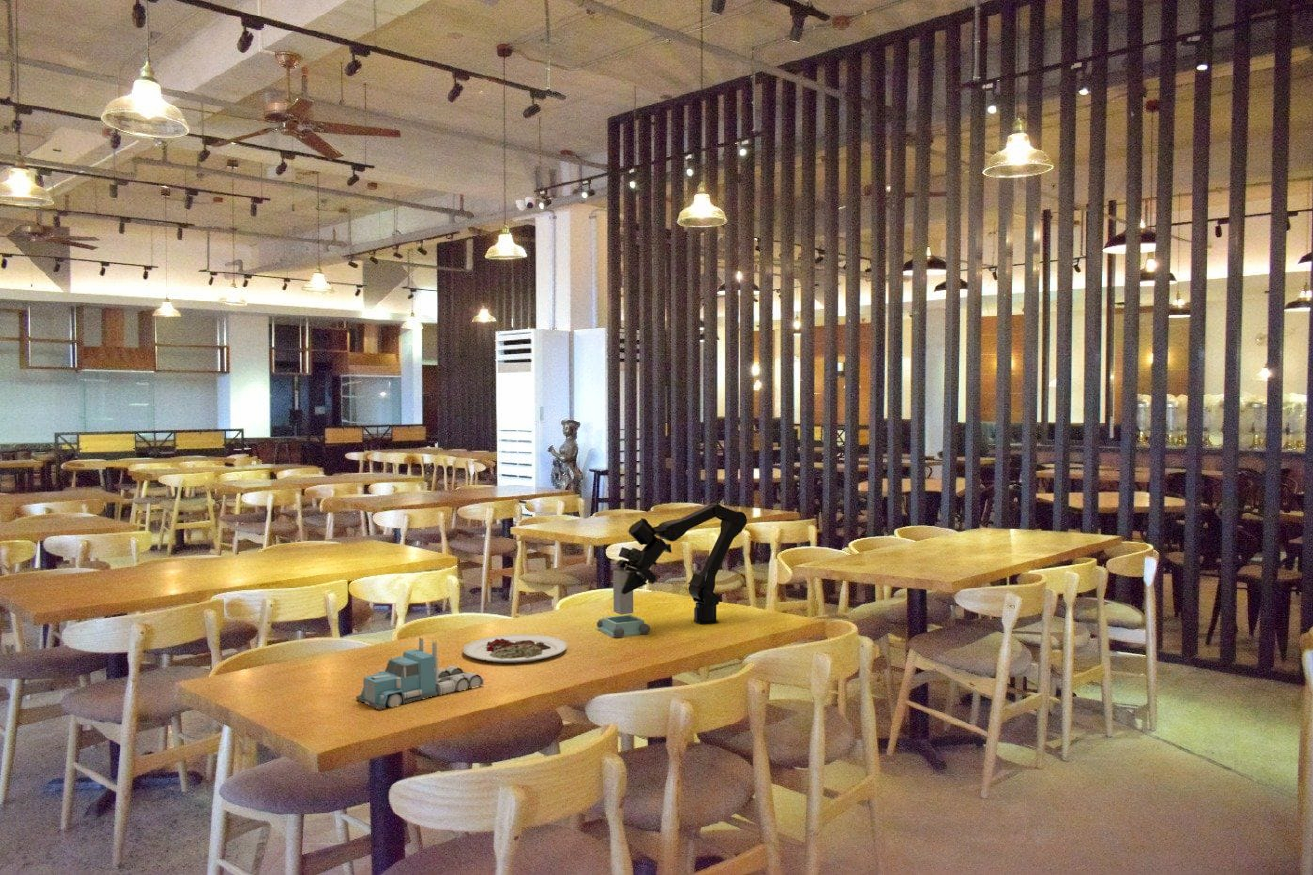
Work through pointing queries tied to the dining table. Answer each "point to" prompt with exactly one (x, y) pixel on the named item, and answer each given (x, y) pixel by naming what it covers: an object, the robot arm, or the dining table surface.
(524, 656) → the plated food
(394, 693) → the truck
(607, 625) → the chassis
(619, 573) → the grey upright pillar
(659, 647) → the dining table surface
